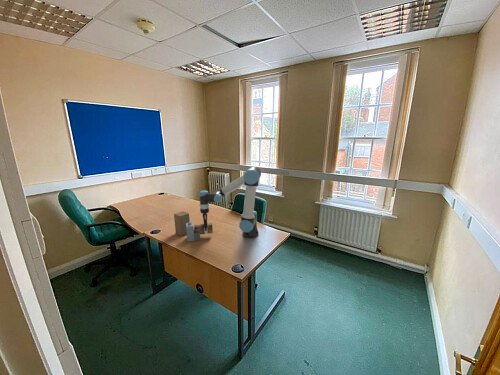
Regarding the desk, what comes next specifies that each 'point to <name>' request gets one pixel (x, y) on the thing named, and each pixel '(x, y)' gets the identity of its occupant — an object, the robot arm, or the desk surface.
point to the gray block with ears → (191, 232)
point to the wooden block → (181, 222)
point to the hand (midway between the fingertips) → (205, 232)
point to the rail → (201, 228)
